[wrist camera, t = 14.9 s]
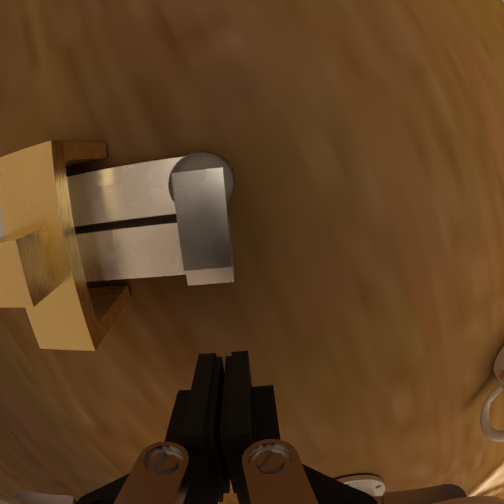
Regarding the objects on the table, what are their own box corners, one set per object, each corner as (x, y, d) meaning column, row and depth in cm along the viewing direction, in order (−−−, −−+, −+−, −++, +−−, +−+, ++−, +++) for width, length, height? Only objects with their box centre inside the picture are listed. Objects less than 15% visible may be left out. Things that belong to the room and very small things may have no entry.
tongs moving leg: (234, 253, 21) (234, 285, 16) (-28, 276, 21) (-63, 298, 16) (226, 165, 19) (222, 167, 14) (-42, 215, 19) (-81, 229, 14)
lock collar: (130, 297, 22) (75, 381, 12) (83, 300, 22) (17, 375, 12) (105, 143, 18) (16, 140, 9) (57, 154, 18) (-40, 163, 9)
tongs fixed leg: (236, 200, 20) (236, 213, 16) (-37, 241, 20) (-71, 256, 15) (232, 150, 19) (230, 148, 15) (-43, 207, 19) (-78, 219, 14)
